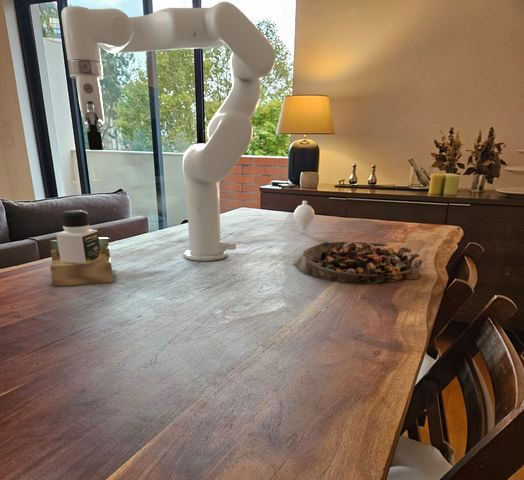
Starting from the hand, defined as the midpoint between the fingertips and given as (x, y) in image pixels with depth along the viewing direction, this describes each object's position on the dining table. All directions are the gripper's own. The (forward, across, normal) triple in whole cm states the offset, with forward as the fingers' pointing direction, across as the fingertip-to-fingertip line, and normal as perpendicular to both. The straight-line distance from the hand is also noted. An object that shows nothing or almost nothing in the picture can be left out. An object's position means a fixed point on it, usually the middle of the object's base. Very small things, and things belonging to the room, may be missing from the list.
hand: (96, 149), depth 116 cm
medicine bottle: (+26, -12, +7) cm, 29 cm away
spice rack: (+30, -10, +7) cm, 33 cm away
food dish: (+31, -21, -66) cm, 76 cm away
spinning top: (+31, +30, -72) cm, 84 cm away
